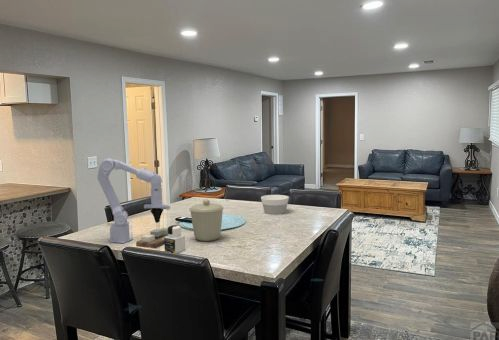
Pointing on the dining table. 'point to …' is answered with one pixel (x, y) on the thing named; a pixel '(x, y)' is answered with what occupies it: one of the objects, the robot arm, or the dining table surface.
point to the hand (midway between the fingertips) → (157, 222)
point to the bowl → (275, 204)
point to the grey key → (156, 232)
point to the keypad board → (153, 242)
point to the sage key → (164, 231)
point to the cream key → (148, 238)
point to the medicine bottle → (174, 240)
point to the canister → (206, 220)
